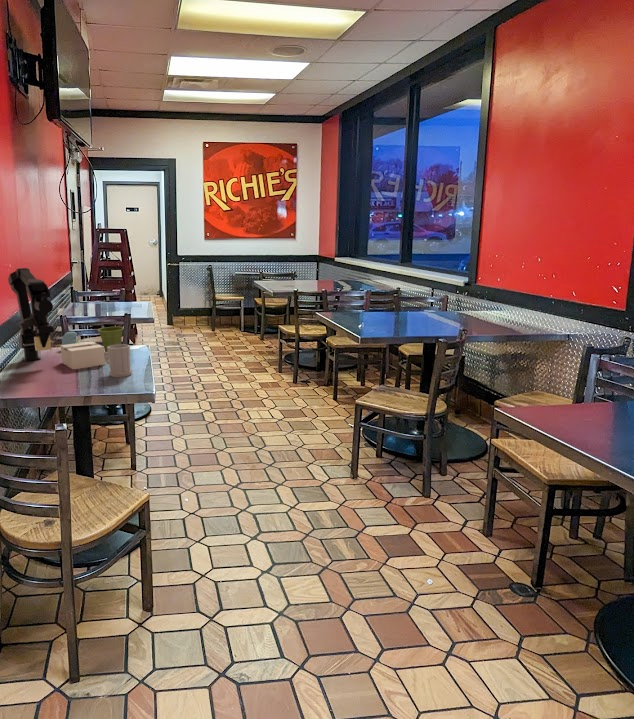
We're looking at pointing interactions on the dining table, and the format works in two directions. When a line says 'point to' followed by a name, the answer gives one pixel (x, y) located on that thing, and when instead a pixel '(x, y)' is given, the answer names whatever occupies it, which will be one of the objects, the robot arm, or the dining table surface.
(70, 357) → the box
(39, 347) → the block
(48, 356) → the dining table surface
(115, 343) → the plant pot
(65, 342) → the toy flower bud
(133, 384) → the dining table surface
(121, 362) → the cup
